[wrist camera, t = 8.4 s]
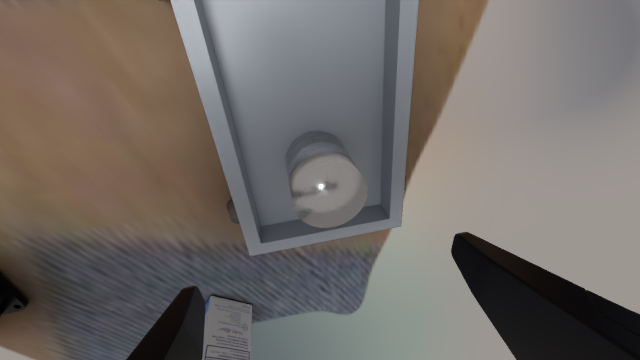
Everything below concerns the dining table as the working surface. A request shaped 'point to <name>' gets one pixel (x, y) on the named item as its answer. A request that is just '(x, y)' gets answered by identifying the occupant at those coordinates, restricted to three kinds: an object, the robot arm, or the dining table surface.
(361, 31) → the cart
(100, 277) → the dining table surface
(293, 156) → the cylinder
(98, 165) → the dining table surface
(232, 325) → the medicine box
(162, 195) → the dining table surface
